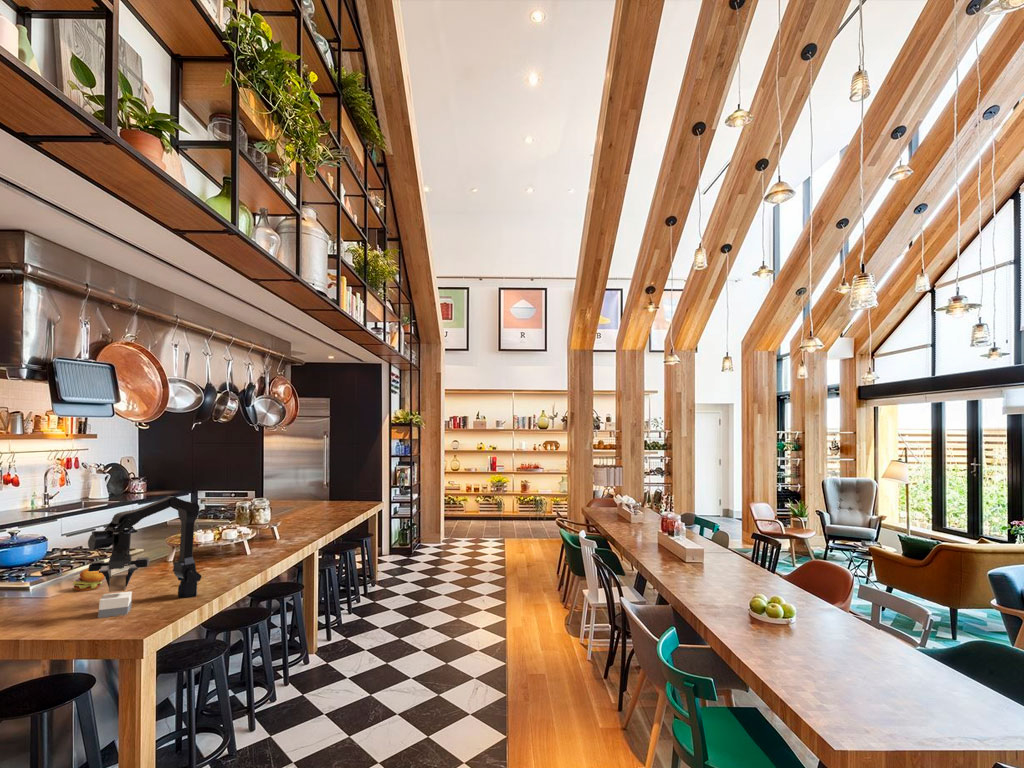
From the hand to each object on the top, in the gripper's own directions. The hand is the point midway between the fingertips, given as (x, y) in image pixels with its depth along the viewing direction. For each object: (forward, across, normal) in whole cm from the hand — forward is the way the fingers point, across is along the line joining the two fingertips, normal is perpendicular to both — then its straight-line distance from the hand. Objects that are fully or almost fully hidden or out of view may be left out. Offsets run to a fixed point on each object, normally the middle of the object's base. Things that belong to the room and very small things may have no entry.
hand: (118, 586), depth 211 cm
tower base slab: (+10, 0, 0) cm, 10 cm away
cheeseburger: (+10, -18, +45) cm, 49 cm away
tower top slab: (+7, 0, 0) cm, 7 cm away
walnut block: (+1, 0, 0) cm, 1 cm away
